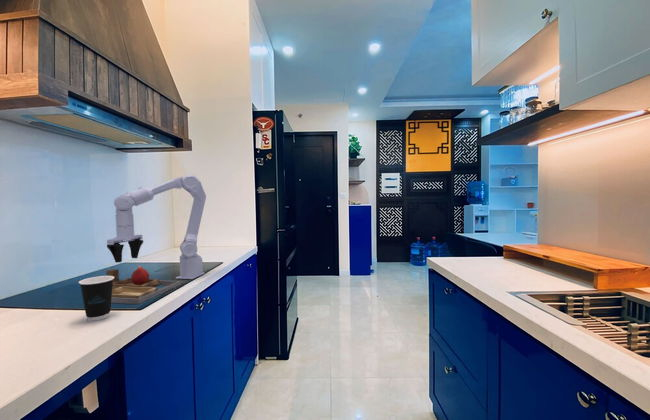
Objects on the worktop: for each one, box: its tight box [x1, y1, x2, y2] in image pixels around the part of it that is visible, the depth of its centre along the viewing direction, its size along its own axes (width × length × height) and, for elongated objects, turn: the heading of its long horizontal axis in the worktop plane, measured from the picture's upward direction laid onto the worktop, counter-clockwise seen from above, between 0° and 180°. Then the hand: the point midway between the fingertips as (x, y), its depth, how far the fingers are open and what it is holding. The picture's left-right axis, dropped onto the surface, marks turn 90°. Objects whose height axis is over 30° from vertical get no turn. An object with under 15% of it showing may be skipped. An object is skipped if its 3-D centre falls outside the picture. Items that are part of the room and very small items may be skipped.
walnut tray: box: [105, 268, 160, 290], centre depth 109 cm, size 9×18×6 cm, turn 81°
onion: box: [130, 265, 150, 285], centre depth 108 cm, size 6×6×8 cm
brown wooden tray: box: [111, 279, 182, 305], centre depth 103 cm, size 21×15×2 cm
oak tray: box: [112, 286, 158, 298], centre depth 98 cm, size 9×18×6 cm, turn 81°
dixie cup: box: [78, 275, 114, 322], centre depth 81 cm, size 8×8×11 cm
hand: (126, 260), depth 112 cm, fingers open, 7 cm apart
